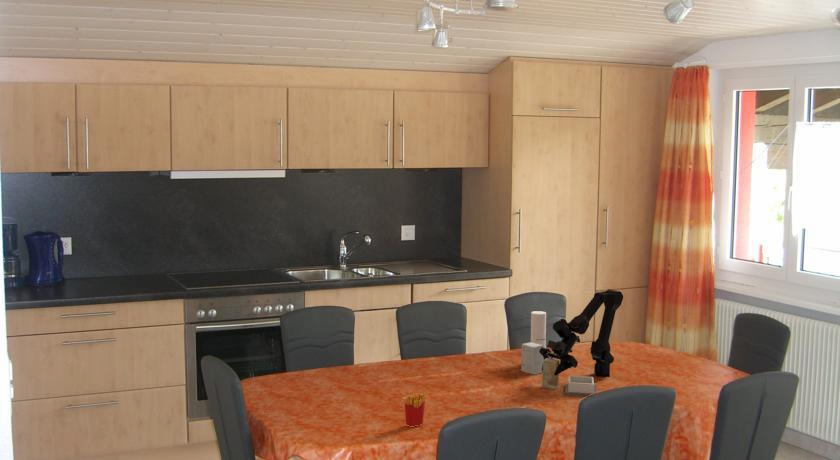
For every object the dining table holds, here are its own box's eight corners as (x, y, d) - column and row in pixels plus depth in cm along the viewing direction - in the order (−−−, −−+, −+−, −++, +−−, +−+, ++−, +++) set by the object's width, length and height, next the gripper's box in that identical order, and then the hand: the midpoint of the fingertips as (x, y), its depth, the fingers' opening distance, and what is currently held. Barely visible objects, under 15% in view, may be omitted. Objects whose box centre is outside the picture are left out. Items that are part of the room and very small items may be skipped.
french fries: (408, 428, 306) (409, 397, 305) (403, 425, 310) (403, 394, 308) (427, 424, 311) (427, 393, 310) (421, 421, 315) (421, 390, 313)
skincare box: (541, 387, 357) (542, 360, 355) (544, 384, 361) (545, 357, 359) (555, 389, 354) (556, 362, 352) (559, 386, 358) (559, 359, 356)
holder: (595, 387, 357) (596, 376, 357) (596, 396, 344) (597, 385, 344) (565, 385, 360) (565, 374, 359) (565, 394, 347) (565, 383, 346)
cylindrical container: (544, 366, 390) (545, 314, 387) (529, 365, 391) (530, 313, 388) (545, 362, 396) (546, 311, 394) (530, 361, 398) (531, 310, 395)
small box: (543, 372, 379) (543, 345, 378) (533, 375, 375) (534, 347, 374) (530, 368, 386) (530, 341, 384) (520, 371, 382) (521, 343, 380)
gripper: (542, 329, 364) (523, 357, 359) (574, 337, 350) (555, 367, 344) (554, 344, 370) (536, 372, 365) (585, 352, 355) (567, 382, 350)
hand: (548, 373), depth 356 cm, fingers closed on skincare box, 7 cm apart
